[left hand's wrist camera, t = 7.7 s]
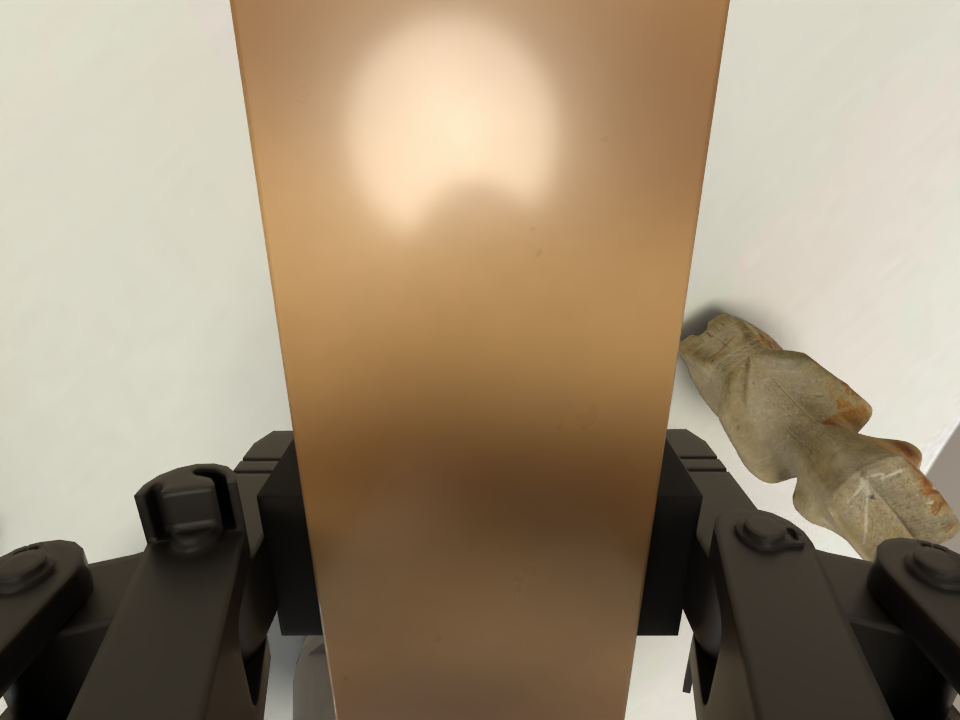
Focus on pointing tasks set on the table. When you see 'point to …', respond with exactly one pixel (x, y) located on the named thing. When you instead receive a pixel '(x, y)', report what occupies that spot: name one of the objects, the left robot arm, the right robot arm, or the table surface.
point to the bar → (479, 327)
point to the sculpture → (814, 439)
